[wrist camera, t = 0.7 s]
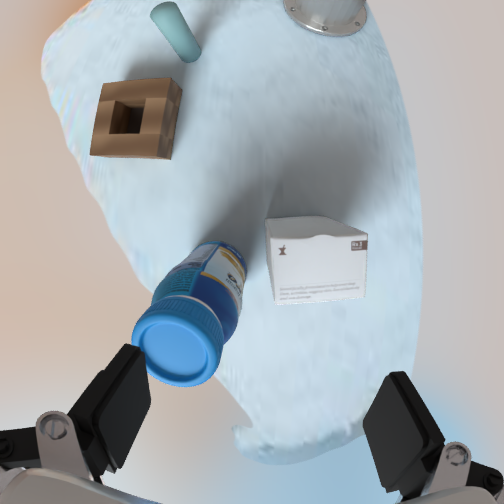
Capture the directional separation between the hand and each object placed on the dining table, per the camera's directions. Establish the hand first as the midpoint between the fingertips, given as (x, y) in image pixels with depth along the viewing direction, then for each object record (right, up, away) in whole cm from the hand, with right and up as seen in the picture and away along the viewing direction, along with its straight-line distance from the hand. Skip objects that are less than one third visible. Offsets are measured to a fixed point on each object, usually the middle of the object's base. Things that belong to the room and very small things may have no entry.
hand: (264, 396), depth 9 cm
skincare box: (+6, +7, +27) cm, 28 cm away
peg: (-9, +33, +21) cm, 40 cm away
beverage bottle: (-5, +3, +28) cm, 29 cm away
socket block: (-15, +23, +23) cm, 36 cm away
